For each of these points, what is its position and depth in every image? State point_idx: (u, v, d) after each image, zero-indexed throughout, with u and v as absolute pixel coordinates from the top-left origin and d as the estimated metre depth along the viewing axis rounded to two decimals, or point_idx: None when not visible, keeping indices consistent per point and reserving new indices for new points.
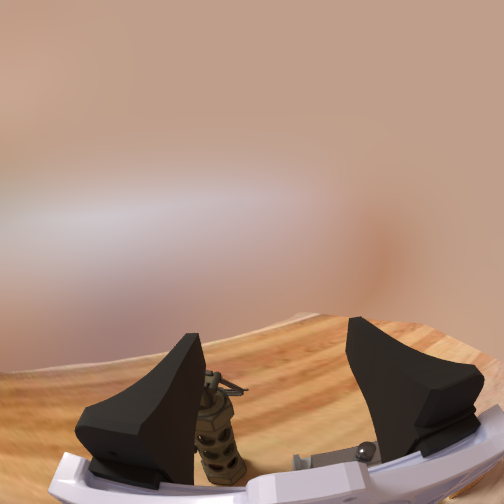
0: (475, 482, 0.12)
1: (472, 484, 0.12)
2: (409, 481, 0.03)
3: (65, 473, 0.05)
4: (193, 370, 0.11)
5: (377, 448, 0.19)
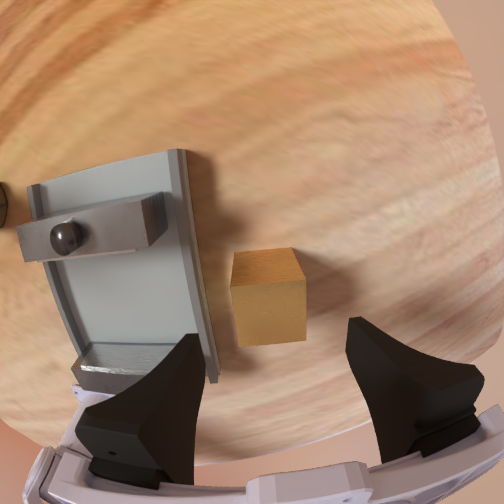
0: None
1: None
2: (409, 481, 0.03)
3: (65, 473, 0.05)
4: (193, 370, 0.11)
5: (87, 228, 0.13)
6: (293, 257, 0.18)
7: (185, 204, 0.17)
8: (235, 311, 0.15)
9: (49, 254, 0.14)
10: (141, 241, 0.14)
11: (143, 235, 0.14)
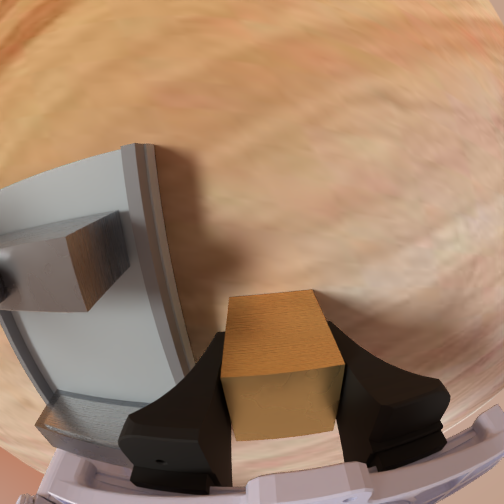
0: None
1: None
2: (409, 481, 0.03)
3: (65, 473, 0.05)
4: None
5: (7, 274, 0.07)
6: (317, 310, 0.11)
7: (151, 231, 0.11)
8: (230, 406, 0.09)
9: None
10: (75, 302, 0.07)
11: (76, 293, 0.07)
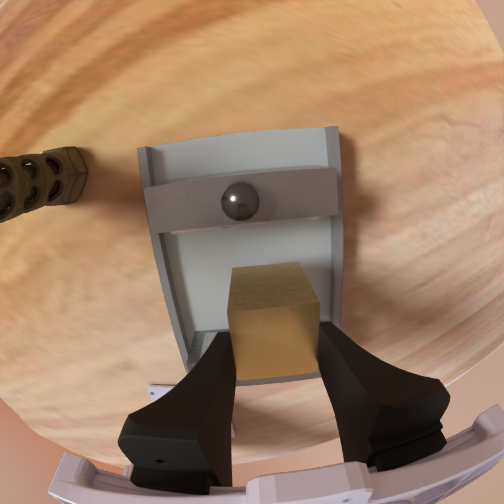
0: None
1: None
2: (409, 481, 0.03)
3: (65, 473, 0.05)
4: (229, 369, 0.11)
5: (267, 191, 0.14)
6: (301, 273, 0.15)
7: None
8: (233, 340, 0.12)
9: (199, 222, 0.14)
10: (331, 208, 0.14)
11: (334, 202, 0.14)
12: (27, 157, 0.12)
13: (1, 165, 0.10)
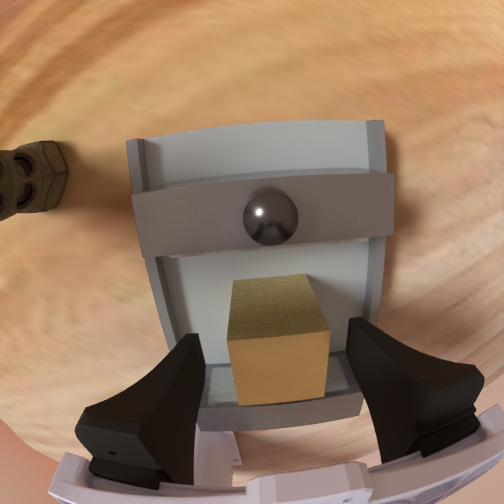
0: None
1: None
2: (409, 481, 0.03)
3: (65, 473, 0.05)
4: (193, 370, 0.11)
5: (306, 202, 0.10)
6: (309, 290, 0.14)
7: None
8: (234, 368, 0.11)
9: (210, 244, 0.10)
10: (386, 227, 0.10)
11: (390, 219, 0.10)
12: None
13: None
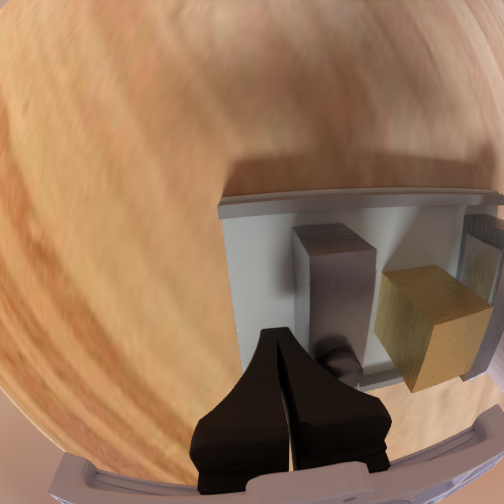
0: None
1: None
2: (409, 481, 0.03)
3: (65, 473, 0.05)
4: (278, 365, 0.11)
5: (333, 339, 0.10)
6: (397, 290, 0.12)
7: (297, 196, 0.12)
8: (436, 383, 0.10)
9: None
10: (367, 260, 0.09)
11: (359, 256, 0.09)
12: None
13: None
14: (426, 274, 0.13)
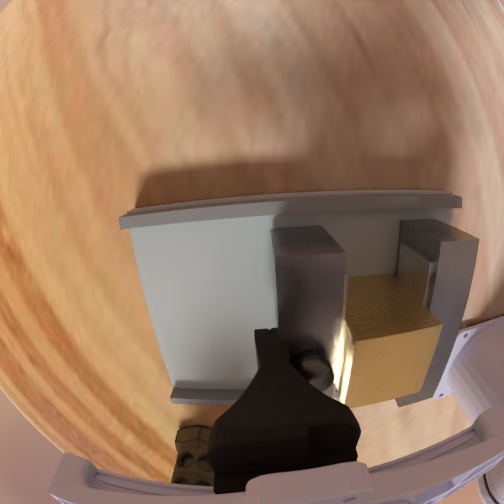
0: None
1: None
2: (409, 481, 0.03)
3: (65, 473, 0.05)
4: None
5: (303, 341, 0.11)
6: None
7: (188, 207, 0.13)
8: (374, 401, 0.10)
9: None
10: (335, 262, 0.10)
11: (326, 259, 0.10)
12: (172, 482, 0.15)
13: None
14: (375, 283, 0.13)
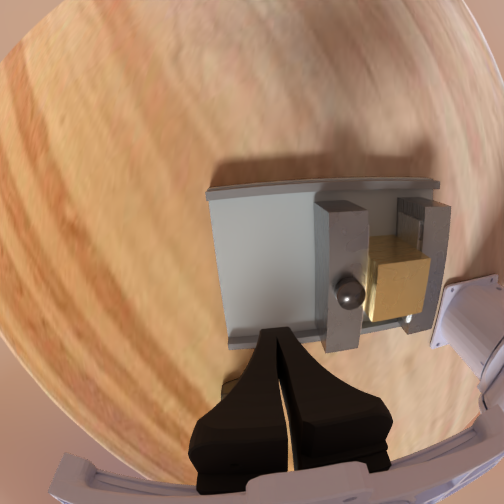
0: None
1: None
2: (409, 481, 0.03)
3: (65, 473, 0.05)
4: (277, 365, 0.11)
5: (344, 270, 0.17)
6: None
7: (258, 185, 0.19)
8: (392, 317, 0.16)
9: (358, 317, 0.18)
10: (362, 216, 0.15)
11: (358, 214, 0.15)
12: None
13: None
14: (383, 239, 0.19)
